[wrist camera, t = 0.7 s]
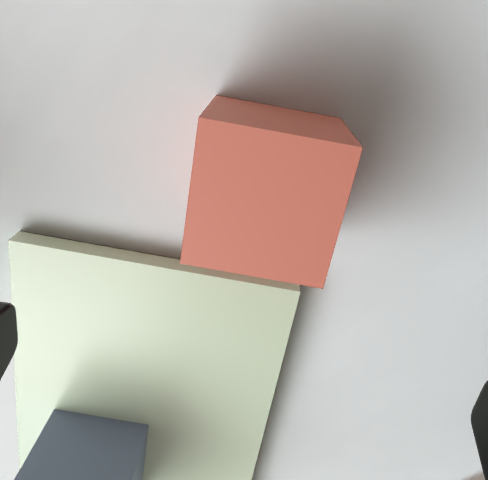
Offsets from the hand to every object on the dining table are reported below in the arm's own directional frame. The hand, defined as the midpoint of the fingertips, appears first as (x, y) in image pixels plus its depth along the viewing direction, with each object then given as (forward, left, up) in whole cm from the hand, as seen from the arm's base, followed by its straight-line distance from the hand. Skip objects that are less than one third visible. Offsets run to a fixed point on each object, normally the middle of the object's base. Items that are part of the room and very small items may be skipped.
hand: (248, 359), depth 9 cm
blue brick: (+6, +17, -11) cm, 21 cm away
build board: (+4, +13, -12) cm, 18 cm away
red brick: (0, 0, -12) cm, 12 cm away
